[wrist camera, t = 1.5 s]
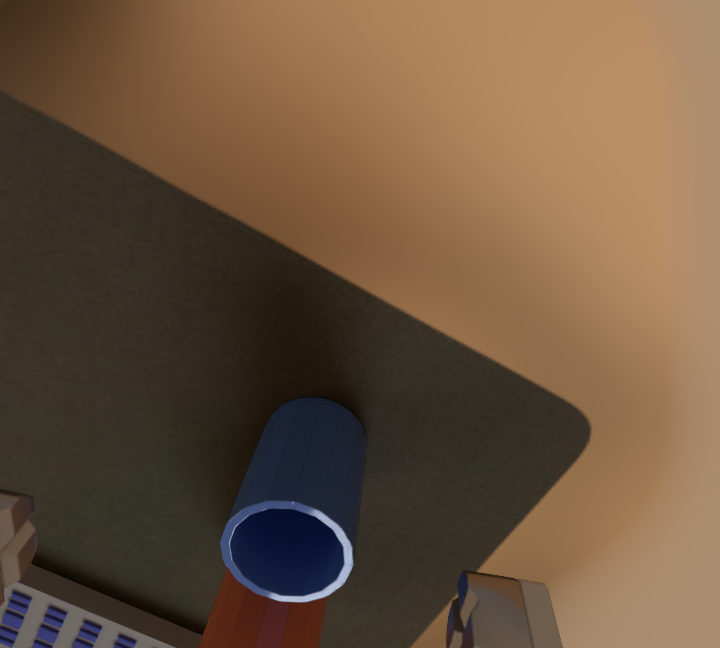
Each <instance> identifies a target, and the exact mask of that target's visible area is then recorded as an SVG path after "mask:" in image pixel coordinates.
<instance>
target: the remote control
mask: <svg viewBox="0 0 720 648" xmlns="http://www.w3.org/2000/svg"><path fill="white" fill-rule="evenodd" d="M4 597H5V601H4V603H3V604H2V605H1V607H0V648H198V646H199V644H200V641H201V638H202V635H200V634H198V633H195V632H193V631H190V630H188V629H186V628H183V627H181V626H178V625H176V624H174V623H171V622H169V621H166V620H164V619H162V618H159V617H157V616H155V615H152V614H150V613H147V612H145V611H143V610H140V609H138V608H135V607H133V606H131V605H128V604H126V603H123V602H121V601H119V600H116V599H114V598H112V597H109V596H107V595H104V594H102V593H100V592H97V591H95V590H92V589H90V588H88V587H85V586H83V585H80V584H78V583H76V582H73V581H71V580H68V579H66V578H64V577H61V576H59V575H57V574H54V573H52V572H49V571H47V570H45V569H42V568H40V567H37V566H35V565H33V564H30V566H29V568H28V569H27V571H26V572H25V574H24V575H23V577H22V578H21V579H20V580H19V581H17V582H16V583H14V584H12V585H10V586H8V587H7V588H5V589H4Z"/></svg>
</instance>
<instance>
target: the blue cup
mask: <svg viewBox="0 0 720 648" xmlns="http://www.w3.org/2000/svg"><path fill="white" fill-rule="evenodd" d="M366 448H367V441H366V435H365V432H364V429H363V427H362V425H361V423H360V422H359V420H358V419H357V418H356V417H355V415H353V414H352V413H351V412H350V411H349V410H348V409H346V408H345V407H343V406H342V405H340V404H338V403H336V402H333V401H331V400H327V399H323V398H316V397H306V398H299V399H295V400H292V401H290V402H287V403H285V404H284V405H282V406H280V407H279V408H278V409H277V410H275V412H274V413H273V414H272V415H271V416H270V418H269V420H268V422H267V424H266V426H265V428H264V431H263V433H262V436H261V438H260V441H259V443H258V446H257V448H256V451H255V453H254V456H253V458H252V461H251V463H250V466H249V468H248V471H247V473H246V476H245V478H244V481H243V483H242V486H241V488H240V491H239V493H238V496H237V498H236V501H235V503H234V506H233V508H232V511H231V513H230V516H229V518H228V521H227V523H226V526H225V529H224V531H223V534H222V537H221V540H220V544H221V550H222V555H223V561H224V563H225V564H226V566H227V567H228V569H229V570H230V571H231V573H232V574H233V576H234V577H235V579H237V581H239V582H240V583H242V584H243V585H244V586H246V587H247V588H249V589H250V590H251V591H253V592H254V593H256V594H259V595H262V596H265V597H268V598H271V599H274V600H277V601H281V602H309V601H312V600H316V599H320V598H323V597H327V596H329V595H330V594H331V593H333V592H334V591H335V590H337V589H338V588H339V587H341V586H342V585H343V584H344V583H345V582H346V580H347V578H348V576H349V574H350V572H351V570H352V568H353V565H354V558H355V550H356V541H357V532H358V524H359V515H360V507H361V498H362V489H363V481H364V472H365V463H366Z"/></svg>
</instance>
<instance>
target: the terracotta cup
mask: <svg viewBox="0 0 720 648" xmlns="http://www.w3.org/2000/svg"><path fill="white" fill-rule="evenodd" d="M327 598H328V596H327V597H323V598H320V599H316V600H312V601H309V602H281V601H277V600H274V599H271V598H268V597H265V596H262V595H259V594H256V593H254V592H253V591H251V590H250V589H249V588H247V587H246V586H244V585H243V584H242V583H240V582H239V581H237V579H235V577H234V576H233V574H232V573H231V571H230V570H229V569H228V567H227V569H226V572H225V575H224V578H223V580H222V583H221V586H220V589H219V591H218V594H217V597H216V600H215V602H214V605H213V608H212V611H211V613H210V616H209V619H208V622H207V624H206V627H205V630H204V633H203V635H202V638H201V641H200V644H199V646H198V648H320V643H321V636H322V630H323V624H324V617H325V611H326V605H327Z"/></svg>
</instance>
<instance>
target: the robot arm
mask: <svg viewBox="0 0 720 648" xmlns="http://www.w3.org/2000/svg"><path fill="white" fill-rule="evenodd" d="M34 511H35V509H34V503H33V497H32V496H29V495H27V494H22V493H17V492H13V491H8V490H3V489H0V607H1V605H2V604H3V603H4V601H5V597H4V589H5V588H7V587H8V586H10V585H12V584H14V583H16V582H17V581H19V580H20V579H21V578H22V577H23V575H24V574H25V572H26V571H27V569H28V568H29V566H30V564H31V562H32V559H33V557H34V554H35V552H36V548H37V541H38V534H37V528H36V527H35V526H34V524H33V523H32V522H31V521H30V520H29V519H28V518H29V517H30V516H31V515H32V513H33V512H34ZM458 596H459V597H458V598H456V599H455V600H453V601H452V604H451V608H450V612H449V616H448V623H447V635H446V636H447V637H446V645H447V648H563V647H562V642H561V638H560V634H559V631H558V627H557V623H556V619H555V615H554V611H553V607H552V603H551V599H550V595H549V591H548V588H547V587H546V585H545V584H544V583H539V582H533V581H527V580H521V579H515V578H509V577H504V576H498V575H491V574H485V573H479V572H473V571H467V570H464V571H463V572H462V574H461V576H460V579H459V582H458Z"/></svg>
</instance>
